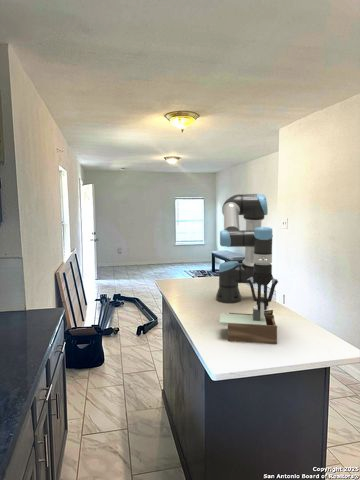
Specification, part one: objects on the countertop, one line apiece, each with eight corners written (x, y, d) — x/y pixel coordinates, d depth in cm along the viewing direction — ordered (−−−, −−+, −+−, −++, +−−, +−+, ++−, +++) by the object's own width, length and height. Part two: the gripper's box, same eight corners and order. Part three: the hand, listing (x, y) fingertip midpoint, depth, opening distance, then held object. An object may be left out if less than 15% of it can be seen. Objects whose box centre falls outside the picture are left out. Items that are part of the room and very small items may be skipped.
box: (228, 328, 150) (229, 312, 149) (273, 331, 146) (273, 315, 145) (227, 340, 136) (227, 323, 135) (276, 344, 132) (277, 326, 132)
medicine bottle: (259, 325, 154) (260, 300, 153) (252, 320, 161) (252, 296, 160) (272, 323, 156) (273, 299, 155) (265, 318, 163) (265, 295, 162)
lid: (220, 315, 149) (220, 305, 148) (264, 317, 145) (264, 307, 145) (219, 324, 137) (219, 313, 137) (266, 326, 134) (266, 315, 133)
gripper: (247, 264, 135) (246, 319, 137) (279, 265, 132) (278, 320, 135) (246, 261, 142) (246, 313, 144) (277, 262, 140) (276, 314, 142)
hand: (261, 317), depth 140 cm, fingers closed
